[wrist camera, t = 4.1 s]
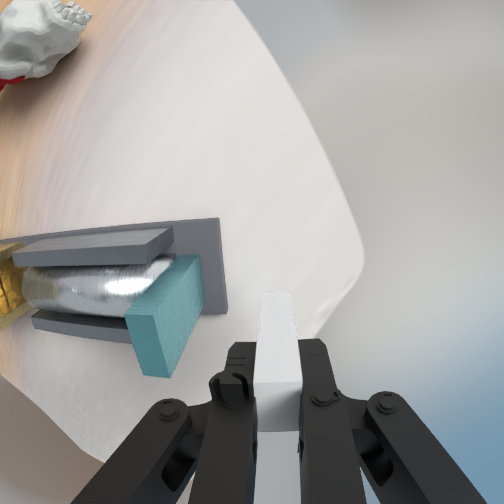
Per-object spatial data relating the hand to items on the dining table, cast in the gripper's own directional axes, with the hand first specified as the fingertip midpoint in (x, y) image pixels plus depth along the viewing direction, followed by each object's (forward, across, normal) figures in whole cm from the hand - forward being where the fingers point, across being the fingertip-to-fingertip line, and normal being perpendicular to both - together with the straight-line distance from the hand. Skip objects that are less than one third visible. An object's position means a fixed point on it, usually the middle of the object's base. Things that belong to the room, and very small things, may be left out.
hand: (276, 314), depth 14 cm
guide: (+7, -20, 0) cm, 21 cm away
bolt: (+5, -13, 0) cm, 14 cm away
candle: (+8, -22, +24) cm, 33 cm away
